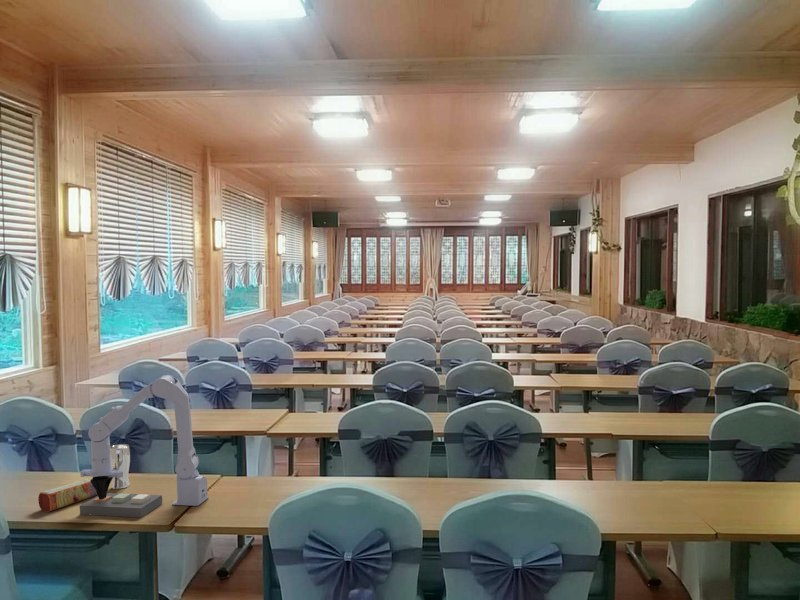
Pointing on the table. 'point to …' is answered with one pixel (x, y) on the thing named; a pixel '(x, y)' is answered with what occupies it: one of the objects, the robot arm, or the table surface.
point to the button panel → (120, 507)
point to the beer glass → (120, 464)
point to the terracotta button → (102, 499)
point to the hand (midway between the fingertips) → (102, 498)
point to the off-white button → (140, 499)
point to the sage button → (121, 498)
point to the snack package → (66, 495)
